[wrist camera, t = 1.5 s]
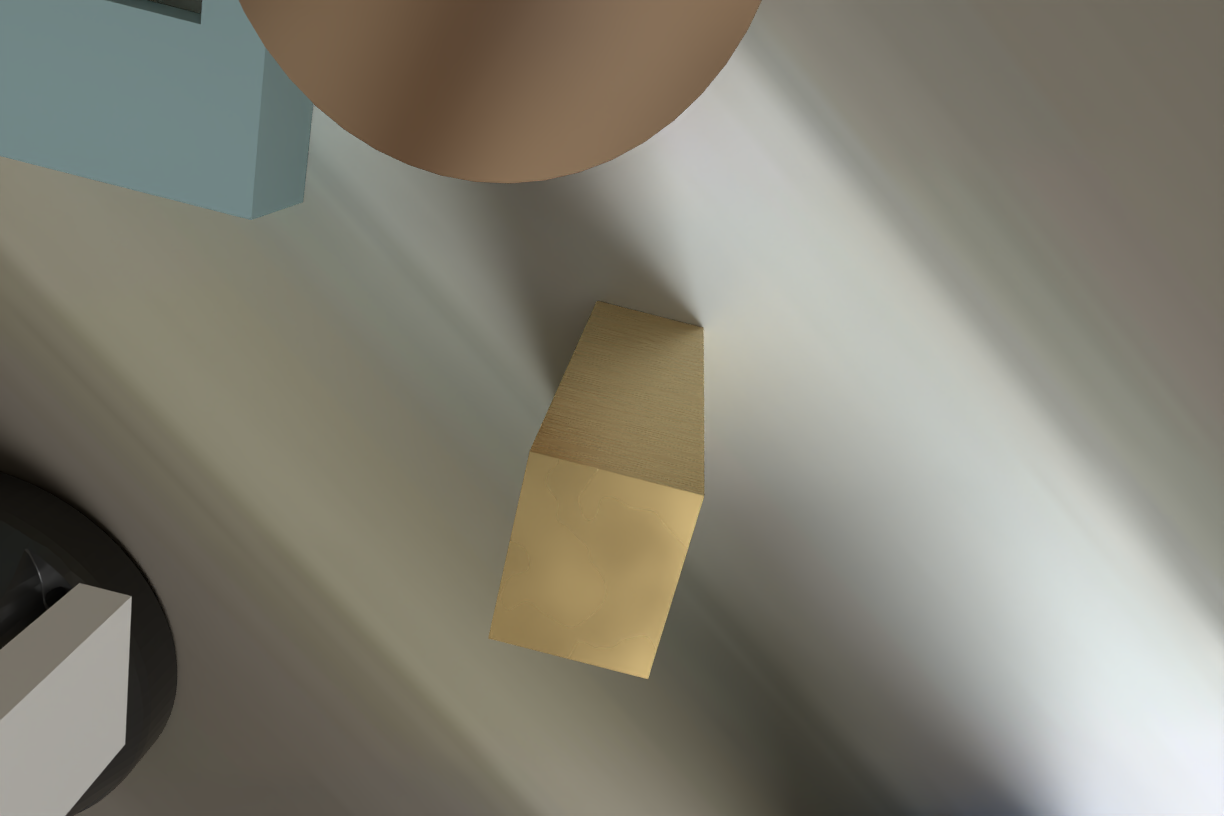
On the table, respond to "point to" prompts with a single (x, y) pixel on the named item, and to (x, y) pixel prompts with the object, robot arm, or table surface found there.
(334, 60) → the spool
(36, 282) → the table surface
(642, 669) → the tab
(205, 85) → the notch board
